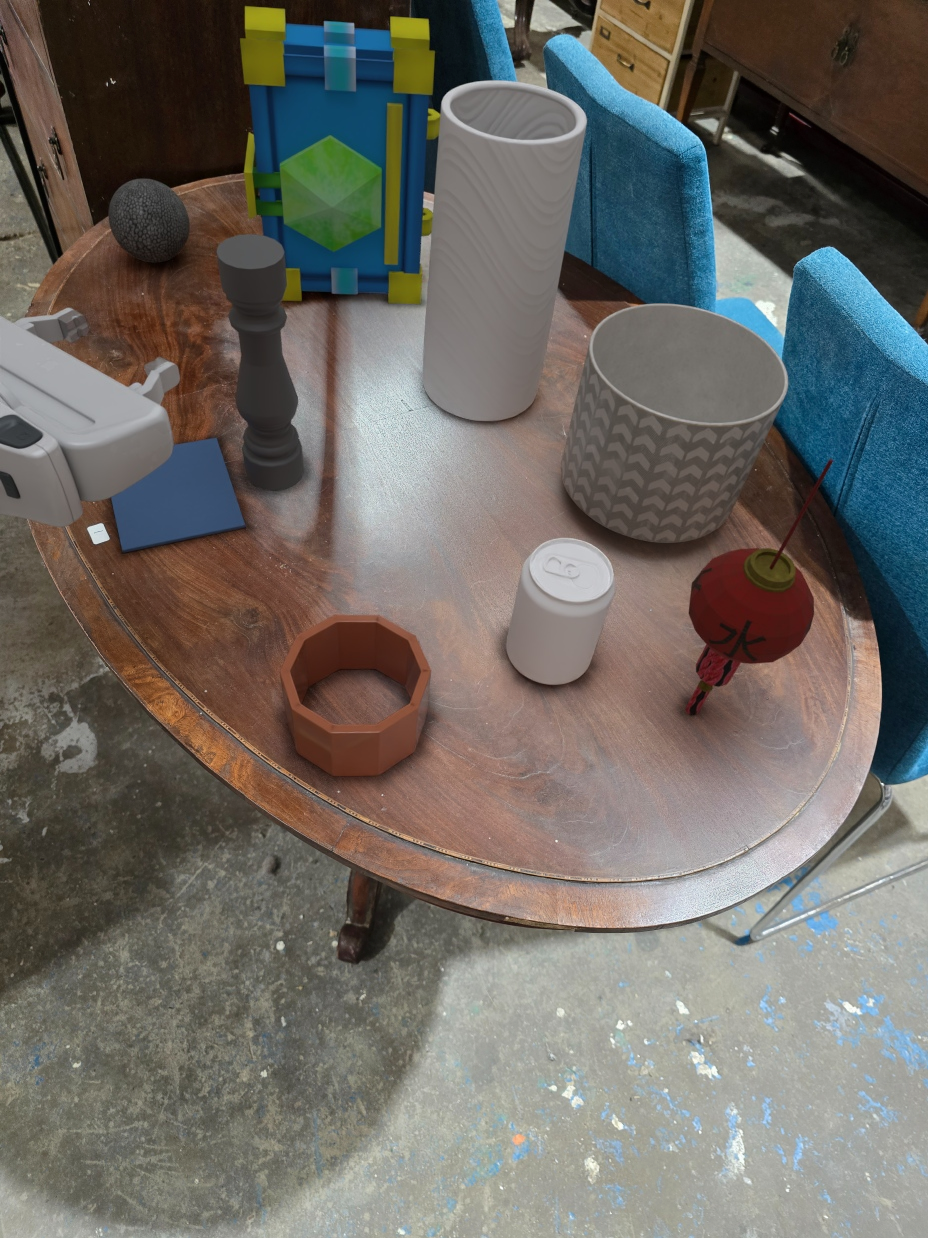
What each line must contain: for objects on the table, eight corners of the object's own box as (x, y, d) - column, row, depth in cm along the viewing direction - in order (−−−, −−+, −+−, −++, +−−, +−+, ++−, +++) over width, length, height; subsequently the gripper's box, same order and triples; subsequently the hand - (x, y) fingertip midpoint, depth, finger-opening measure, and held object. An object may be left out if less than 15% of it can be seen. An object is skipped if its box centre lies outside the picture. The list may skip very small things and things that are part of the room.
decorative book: (262, 252, 120) (237, -3, 96) (427, 258, 123) (441, 12, 99) (257, 311, 111) (228, 46, 87) (434, 315, 114) (452, 61, 91)
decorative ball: (109, 274, 113) (91, 198, 105) (127, 235, 119) (111, 160, 112) (187, 280, 114) (174, 205, 106) (201, 241, 120) (189, 167, 112)
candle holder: (245, 491, 91) (211, 270, 71) (245, 452, 94) (214, 231, 75) (304, 489, 92) (288, 270, 72) (303, 450, 95) (286, 232, 76)
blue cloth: (123, 553, 84) (122, 550, 84) (103, 460, 92) (102, 457, 91) (245, 527, 88) (245, 524, 87) (217, 440, 95) (216, 437, 95)
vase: (556, 416, 103) (616, 138, 78) (443, 434, 99) (469, 149, 74) (511, 346, 111) (553, 75, 86) (405, 361, 107) (418, 81, 82)
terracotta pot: (310, 796, 70) (305, 754, 64) (273, 678, 77) (266, 631, 71) (443, 755, 73) (449, 712, 68) (397, 646, 80) (399, 598, 75)
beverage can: (577, 700, 78) (606, 619, 69) (493, 671, 79) (510, 586, 70) (599, 635, 83) (629, 551, 74) (520, 608, 84) (539, 522, 75)
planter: (612, 583, 87) (660, 444, 73) (525, 463, 97) (553, 321, 83) (760, 535, 94) (830, 399, 79) (664, 427, 104) (711, 289, 89)
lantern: (658, 653, 82) (774, 396, 59) (753, 692, 80) (913, 443, 57) (627, 728, 77) (742, 477, 53) (729, 773, 75) (895, 533, 51)
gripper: (-117, 411, 62) (42, 327, 70) (83, 540, 56) (232, 433, 64) (-159, 334, 57) (17, 253, 65) (56, 466, 51) (221, 360, 59)
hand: (125, 343), depth 64 cm, fingers open, 8 cm apart
